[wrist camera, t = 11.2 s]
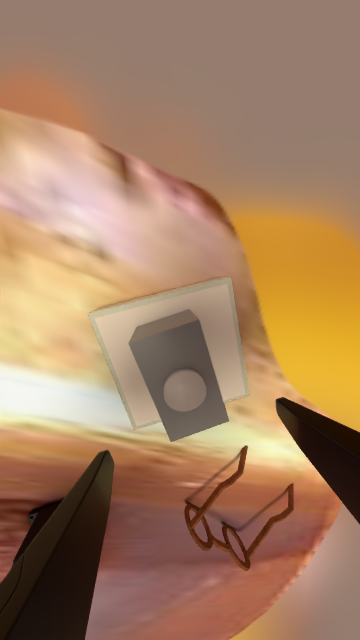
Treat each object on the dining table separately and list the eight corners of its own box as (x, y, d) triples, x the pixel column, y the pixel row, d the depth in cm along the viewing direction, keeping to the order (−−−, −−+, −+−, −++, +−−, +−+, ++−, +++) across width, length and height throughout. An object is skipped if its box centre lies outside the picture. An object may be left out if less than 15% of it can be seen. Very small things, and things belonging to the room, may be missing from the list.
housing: (189, 309, 15) (202, 322, 11) (214, 389, 18) (233, 429, 13) (136, 326, 15) (125, 348, 10) (168, 405, 17) (171, 452, 13)
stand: (238, 380, 21) (250, 396, 18) (137, 409, 20) (133, 431, 18) (220, 277, 18) (231, 276, 15) (98, 308, 17) (86, 314, 14)
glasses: (180, 497, 26) (185, 548, 21) (244, 442, 24) (265, 482, 20) (234, 528, 29) (249, 579, 24) (292, 481, 28) (320, 523, 23)
